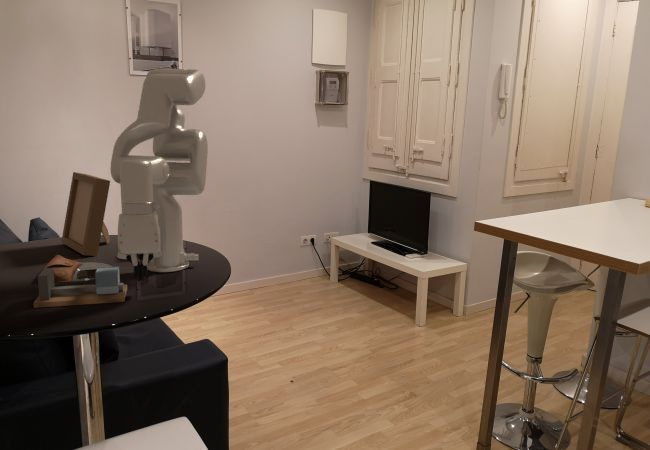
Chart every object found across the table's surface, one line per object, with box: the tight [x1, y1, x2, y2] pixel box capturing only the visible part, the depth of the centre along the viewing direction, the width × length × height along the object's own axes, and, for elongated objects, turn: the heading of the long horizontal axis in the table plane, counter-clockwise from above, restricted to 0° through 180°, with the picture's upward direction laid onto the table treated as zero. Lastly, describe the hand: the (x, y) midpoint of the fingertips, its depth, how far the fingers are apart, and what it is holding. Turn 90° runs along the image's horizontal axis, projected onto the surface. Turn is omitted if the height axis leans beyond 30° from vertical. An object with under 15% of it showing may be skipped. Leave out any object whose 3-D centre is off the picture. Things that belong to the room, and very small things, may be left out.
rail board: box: [33, 282, 128, 309], centre depth 132 cm, size 20×10×3 cm, turn 106°
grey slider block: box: [94, 265, 121, 294], centre depth 133 cm, size 5×5×6 cm
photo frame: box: [60, 171, 111, 257], centre depth 177 cm, size 15×22×25 cm
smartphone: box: [77, 266, 135, 280], centre depth 153 cm, size 7×1×15 cm
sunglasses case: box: [41, 254, 83, 283], centre depth 152 cm, size 18×7×7 cm
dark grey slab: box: [37, 267, 56, 301], centre depth 129 cm, size 2×7×6 cm, turn 16°
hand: (141, 279), depth 135 cm, fingers closed
